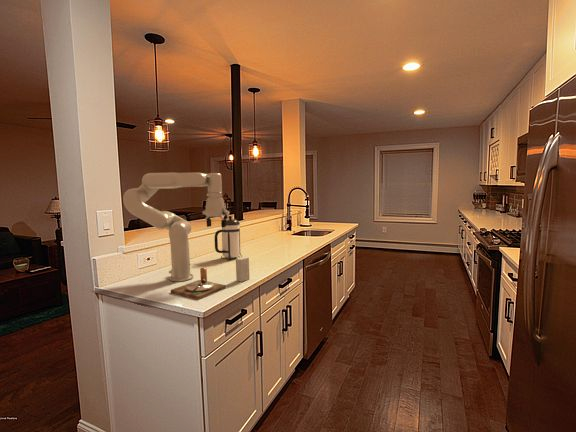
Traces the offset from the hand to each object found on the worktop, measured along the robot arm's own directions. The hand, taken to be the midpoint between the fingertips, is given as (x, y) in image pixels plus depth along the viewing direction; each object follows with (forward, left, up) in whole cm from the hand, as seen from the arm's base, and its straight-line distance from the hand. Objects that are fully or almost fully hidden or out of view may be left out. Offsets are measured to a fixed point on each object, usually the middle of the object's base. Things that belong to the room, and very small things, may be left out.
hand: (216, 226), depth 173 cm
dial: (+9, -23, -26) cm, 36 cm away
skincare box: (+16, +2, -28) cm, 33 cm away
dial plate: (+8, -22, -28) cm, 37 cm away
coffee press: (-24, +38, -28) cm, 53 cm away
